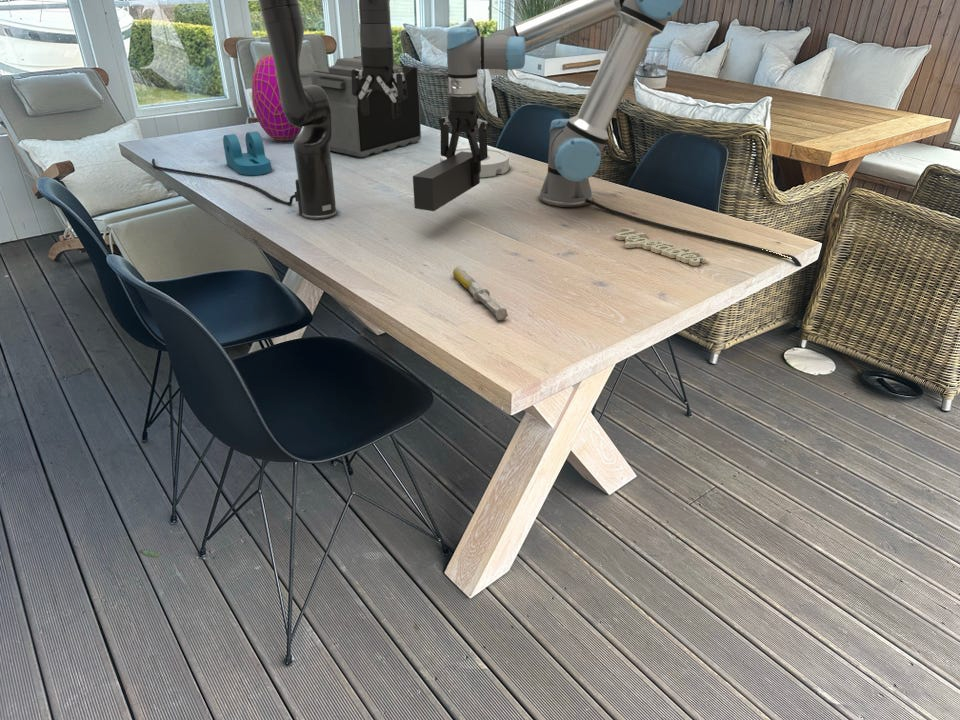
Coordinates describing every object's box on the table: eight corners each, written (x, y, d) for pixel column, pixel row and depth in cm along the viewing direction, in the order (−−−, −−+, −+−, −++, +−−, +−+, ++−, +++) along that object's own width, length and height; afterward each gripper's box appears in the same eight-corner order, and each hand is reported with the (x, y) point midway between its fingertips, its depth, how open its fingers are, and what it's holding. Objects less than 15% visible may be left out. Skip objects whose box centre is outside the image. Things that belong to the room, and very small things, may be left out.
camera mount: (227, 164, 233) (221, 132, 227) (257, 160, 238) (252, 129, 233) (244, 176, 220) (239, 143, 215) (276, 172, 225) (271, 139, 220)
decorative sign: (601, 235, 175) (625, 226, 181) (600, 238, 175) (625, 230, 181) (689, 266, 158) (713, 255, 164) (689, 269, 158) (713, 259, 164)
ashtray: (443, 158, 243) (443, 147, 241) (508, 159, 242) (508, 148, 240) (437, 176, 223) (437, 164, 221) (508, 178, 222) (509, 165, 220)
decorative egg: (293, 132, 276) (283, 50, 261) (319, 140, 264) (310, 56, 249) (249, 139, 265) (236, 54, 250) (273, 148, 253) (261, 60, 238)
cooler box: (383, 133, 276) (378, 52, 261) (425, 141, 265) (422, 56, 250) (314, 150, 251) (304, 61, 235) (358, 160, 240) (350, 67, 224)
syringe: (449, 274, 155) (449, 263, 153) (465, 272, 156) (464, 260, 154) (490, 323, 135) (491, 310, 133) (508, 319, 136) (508, 307, 134)
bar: (462, 180, 192) (461, 151, 188) (479, 183, 190) (479, 153, 186) (414, 208, 171) (412, 176, 167) (433, 211, 169) (432, 178, 165)
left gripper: (341, 44, 159) (347, 116, 168) (394, 47, 154) (398, 122, 162) (359, 41, 165) (364, 111, 173) (411, 44, 160) (413, 116, 168)
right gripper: (424, 94, 176) (428, 183, 188) (489, 99, 170) (489, 191, 181) (437, 89, 182) (440, 176, 194) (501, 94, 175) (500, 184, 187)
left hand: (380, 116), depth 168 cm, fingers open, 8 cm apart
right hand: (464, 183), depth 188 cm, fingers closed on bar, 5 cm apart
